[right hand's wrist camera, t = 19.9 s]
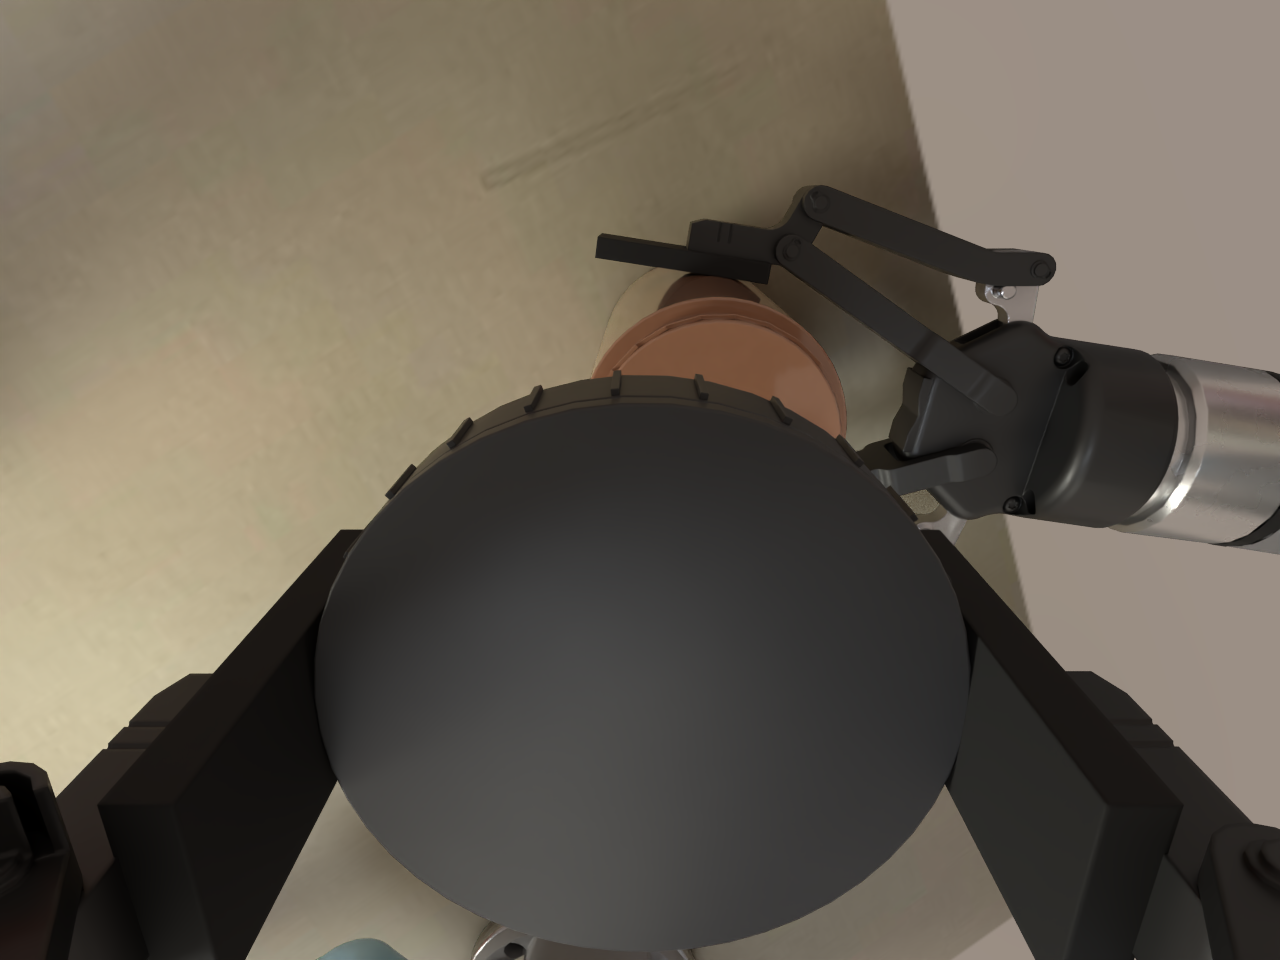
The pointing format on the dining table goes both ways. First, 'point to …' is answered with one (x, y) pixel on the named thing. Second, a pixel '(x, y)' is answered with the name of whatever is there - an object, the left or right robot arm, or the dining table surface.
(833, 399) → the jar
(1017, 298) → the left robot arm
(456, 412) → the dining table surface
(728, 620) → the lid
